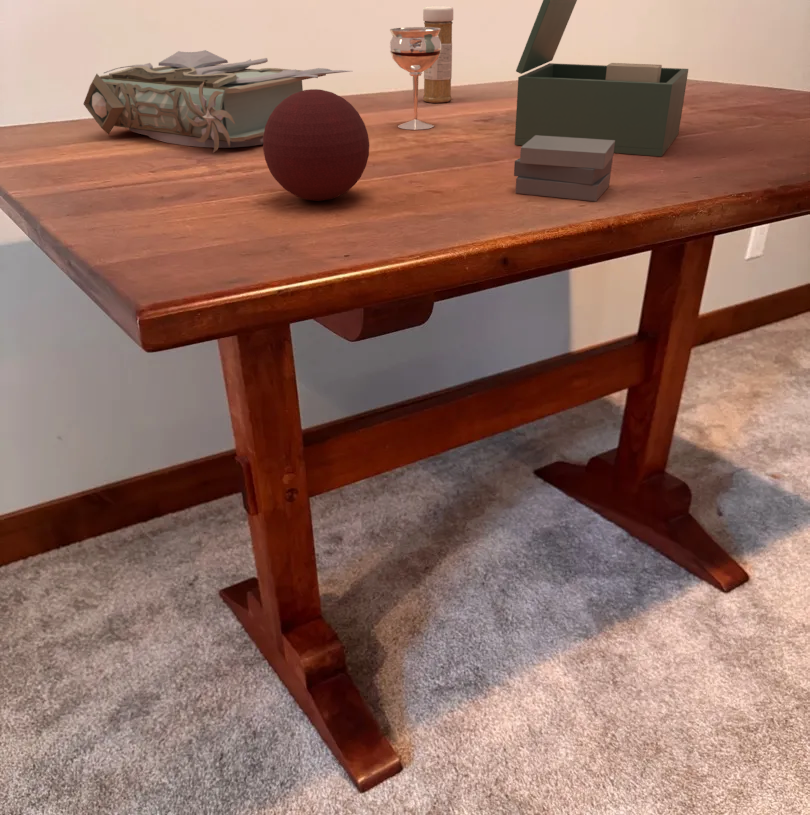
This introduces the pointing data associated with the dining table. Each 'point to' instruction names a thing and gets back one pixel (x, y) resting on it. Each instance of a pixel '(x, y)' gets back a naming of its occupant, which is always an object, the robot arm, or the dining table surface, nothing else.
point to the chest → (600, 107)
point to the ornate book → (195, 99)
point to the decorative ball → (316, 145)
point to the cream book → (633, 72)
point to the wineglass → (415, 59)
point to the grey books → (564, 167)
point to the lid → (546, 34)
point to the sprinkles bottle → (441, 70)
